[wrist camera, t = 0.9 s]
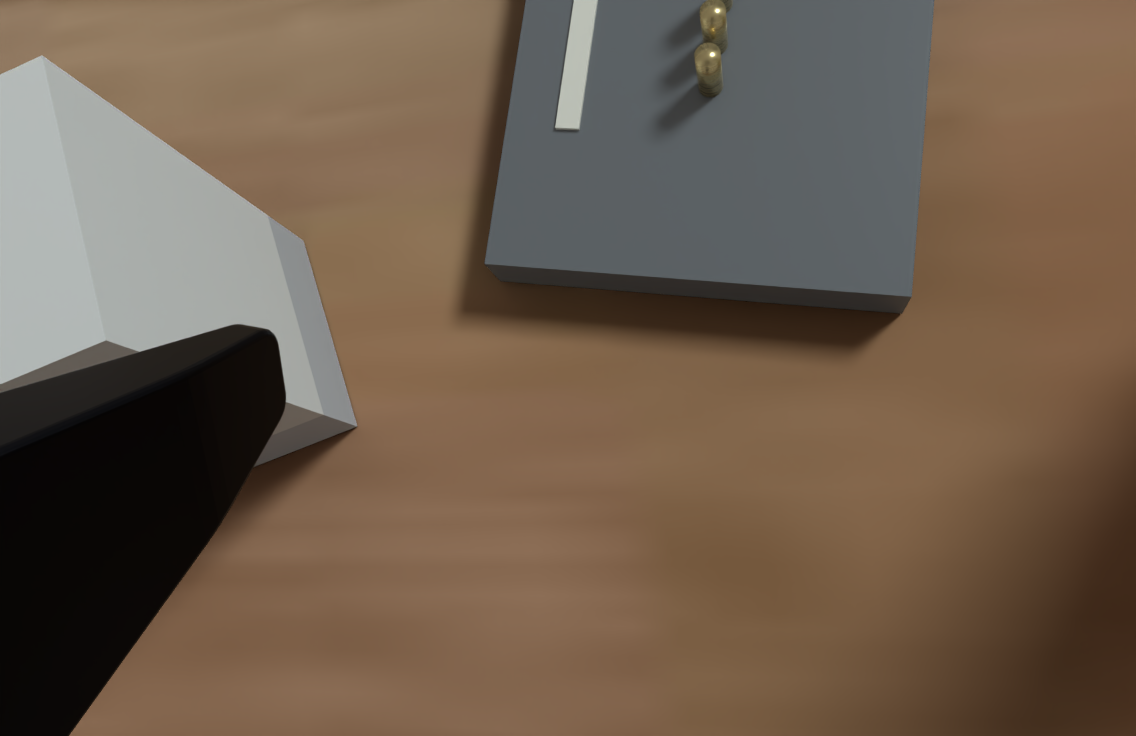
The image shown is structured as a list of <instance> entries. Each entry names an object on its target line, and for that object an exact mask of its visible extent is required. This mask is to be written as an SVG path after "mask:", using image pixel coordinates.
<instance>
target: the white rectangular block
mask: <svg viewBox="0 0 1136 736" xmlns="http://www.w3.org/2000/svg"><path fill="white" fill-rule="evenodd" d="M234 324H243V325H248V326H254V327H260V328H265V329H268V330H270V331H271V332H272V333H274V335H275V336H276V338H277V341H278V345H279V350H280V357H281V364H282V370H283V377H284V383H285V390H286V405H285V410H284V413H283V415H282V418H281V420H280V422H279V423H278V425H277V427H276V429H275V430H274V432H273V434H272V436H271V437H270V439H269V441H268V443H267V444H266V446H265V448H264V450H263V452H262V453H261V455H260V457H259V459H258V460H257V462H256V464H255V466H258V465H260V464H263V463H265V462H268V461H271V460H273V459H276V458H278V457H281V456H283V455H286V454H288V453H291V452H293V451H296V450H299V449H301V448H304V447H306V446H309V445H311V444H314V443H316V442H319V441H322V440H324V439H327V438H329V437H332V436H334V435H337V434H339V433H342V432H345V431H347V430H350V429H352V428H355V427H357V424H356V420H355V417H354V413H353V410H352V406H351V403H350V399H349V396H348V393H347V389H346V386H345V382H344V379H343V375H342V372H341V368H340V365H339V362H338V358H337V355H336V351H335V348H334V344H333V341H332V337H331V334H330V331H329V327H328V324H327V320H326V317H325V313H324V310H323V306H322V303H321V300H320V296H319V293H318V289H317V286H316V282H315V279H314V275H313V272H312V268H311V265H310V262H309V258H308V255H307V251H306V248H305V244H304V241H303V240H302V239H300V238H299V237H297V236H296V235H295V234H293V233H292V232H290V231H289V230H288V229H286V228H285V227H283V226H282V225H280V224H279V223H278V222H276V221H275V220H273V219H272V218H271V217H269V216H268V215H266V214H265V213H264V212H262V211H261V210H259V209H258V208H257V207H255V206H254V205H252V204H251V203H249V202H248V201H247V200H245V199H244V198H242V197H241V196H240V195H238V194H237V193H235V192H234V191H233V190H231V189H230V188H228V187H227V186H225V185H224V184H223V183H221V182H220V181H218V180H217V179H216V178H214V177H213V176H211V175H210V174H209V173H207V172H206V171H204V170H203V169H201V168H200V167H199V166H197V165H196V164H194V163H193V162H192V161H190V160H189V159H187V158H186V157H185V156H183V155H182V154H180V153H179V152H177V151H176V150H175V149H173V148H172V147H170V146H169V145H168V144H166V143H165V142H163V141H162V140H161V139H159V138H158V137H156V136H155V135H153V134H152V133H151V132H149V131H148V130H146V129H145V128H144V127H142V126H141V125H139V124H138V123H137V122H135V121H134V120H132V119H131V118H130V117H128V116H127V115H125V114H124V113H122V112H121V111H120V110H118V109H117V108H115V107H114V106H113V105H111V104H110V103H108V102H107V101H106V100H104V99H103V98H101V97H100V96H98V95H97V94H96V93H94V92H93V91H91V90H90V89H89V88H87V87H86V86H84V85H83V84H82V83H80V82H79V81H77V80H76V79H74V78H73V77H72V76H70V75H69V74H67V73H66V72H65V71H63V70H62V69H60V68H59V67H58V66H56V65H55V64H53V63H52V62H50V61H49V60H48V59H46V58H45V57H43V56H40V57H38V58H35V59H33V60H31V61H29V62H27V63H24V64H22V65H20V66H18V67H16V68H14V69H11V70H9V71H7V72H5V73H3V74H0V392H3V391H7V390H10V389H14V388H17V387H21V386H24V385H27V384H31V383H34V382H38V381H41V380H45V379H48V378H51V377H55V376H58V375H62V374H65V373H68V372H72V371H75V370H79V369H82V368H86V367H89V366H92V365H96V364H99V363H103V362H106V361H110V360H113V359H116V358H120V357H123V356H127V355H130V354H134V353H137V352H140V351H144V350H147V349H151V348H154V347H158V346H161V345H164V344H168V343H171V342H175V341H178V340H181V339H185V338H188V337H192V336H195V335H199V334H202V333H205V332H209V331H212V330H216V329H219V328H223V327H226V326H229V325H234ZM255 466H254V467H255Z"/></svg>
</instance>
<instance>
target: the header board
mask: <svg viewBox="0 0 1136 736" xmlns="http://www.w3.org/2000/svg"><path fill="white" fill-rule="evenodd" d="M933 9H934V0H526V2H525V8H524V15H523V21H522V28H521V34H520V40H519V47H518V53H517V59H516V66H515V72H514V79H513V85H512V91H511V98H510V104H509V111H508V117H507V123H506V130H505V136H504V142H503V149H502V155H501V162H500V168H499V174H498V181H497V187H496V193H495V200H494V206H493V213H492V219H491V225H490V232H489V238H488V244H487V251H486V257H485V265H486V266H487V267H488V268H489V269H490V270H491V272H492V273H493V274H494V275H495V276H496V277H497V278H498V279H499V280H500V281H504V282H517V283H529V284H542V285H554V286H566V287H579V288H591V289H603V290H616V291H628V292H641V293H653V294H665V295H678V296H690V297H703V298H715V299H727V300H740V301H752V302H765V303H777V304H789V305H802V306H814V307H826V308H839V309H851V310H864V311H876V312H888V313H901V314H902V313H903V311H904V309H905V307H906V306H907V304H908V302H909V300H910V299H911V297H912V284H913V271H914V258H915V245H916V232H917V219H918V206H919V192H920V179H921V166H922V153H923V140H924V127H925V114H926V101H927V88H928V74H929V61H930V48H931V35H932V22H933Z"/></svg>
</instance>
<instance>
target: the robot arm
mask: <svg viewBox="0 0 1136 736" xmlns="http://www.w3.org/2000/svg"><path fill="white" fill-rule="evenodd" d="M285 405H286V390H285V383H284V377H283V370H282V364H281V357H280V350H279V345H278V341H277V338H276V336H275V335H274V333H272V332H271V331H270V330H268V329H265V328H260V327H254V326H248V325H243V324H234V325H229V326H226V327H223V328H219V329H216V330H212V331H209V332H205V333H202V334H199V335H195V336H192V337H188V338H185V339H181V340H178V341H175V342H171V343H168V344H164V345H161V346H158V347H154V348H151V349H147V350H144V351H140V352H137V353H134V354H130V355H127V356H123V357H120V358H116V359H113V360H110V361H106V362H103V363H99V364H96V365H92V366H89V367H86V368H82V369H79V370H75V371H72V372H68V373H65V374H62V375H58V376H55V377H51V378H48V379H45V380H41V381H38V382H34V383H31V384H27V385H24V386H21V387H17V388H14V389H10V390H7V391H3V392H0V736H69V735H70V734H71V732H72V731H73V729H74V728H75V727H76V725H77V724H78V722H79V721H80V720H81V718H82V717H83V716H84V714H85V713H86V711H87V710H88V709H89V707H90V706H91V704H92V703H93V702H94V700H95V699H96V697H97V696H98V695H99V693H100V692H101V691H102V689H103V688H104V686H105V685H106V684H107V682H108V681H109V679H110V678H111V677H112V675H113V674H114V673H115V671H116V670H117V668H118V667H119V666H120V664H121V663H122V661H123V660H124V659H125V657H126V656H127V654H128V653H129V652H130V650H131V649H132V648H133V646H134V645H135V643H136V642H137V641H138V639H139V638H140V636H141V635H142V634H143V632H144V631H145V630H146V628H147V627H148V625H149V624H150V623H151V621H152V620H153V618H154V617H155V616H156V614H157V613H158V612H159V610H160V609H161V607H162V606H163V605H164V603H165V602H166V600H167V599H168V598H169V596H170V595H171V593H172V592H173V591H174V589H175V588H176V587H177V585H178V584H179V582H180V581H181V580H182V578H183V577H184V575H185V574H186V573H187V571H188V570H189V569H190V567H191V566H192V564H193V563H194V562H195V560H196V559H197V557H198V556H199V555H200V553H201V552H202V550H203V549H204V548H205V546H206V545H207V544H208V542H209V541H210V539H211V538H212V536H213V535H214V533H215V532H216V530H217V529H218V527H219V526H220V524H221V523H222V521H223V519H224V518H225V516H226V514H227V513H228V511H229V510H230V508H231V506H232V504H233V503H234V501H235V499H236V497H237V496H238V494H239V492H240V490H241V489H242V487H243V485H244V483H245V482H246V480H247V478H248V476H249V474H250V473H251V471H252V469H253V467H254V466H255V464H256V462H257V460H258V459H259V457H260V455H261V453H262V452H263V450H264V448H265V446H266V444H267V443H268V441H269V439H270V437H271V436H272V434H273V432H274V430H275V429H276V427H277V425H278V423H279V422H280V420H281V418H282V415H283V413H284V410H285Z"/></svg>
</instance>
